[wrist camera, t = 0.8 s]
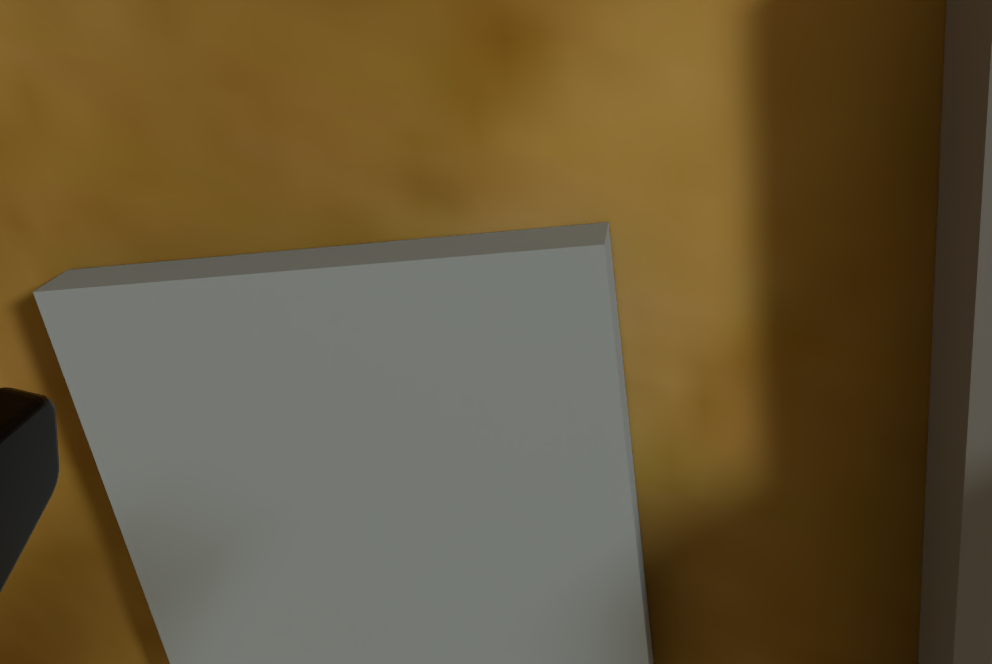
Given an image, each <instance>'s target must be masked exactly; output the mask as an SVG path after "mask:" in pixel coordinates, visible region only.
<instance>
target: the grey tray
mask: <svg viewBox="0 0 992 664" xmlns="http://www.w3.org/2000/svg"><path fill="white" fill-rule="evenodd" d="M918 664H992V0H946V21H945V45H944V68H943V91H942V115H941V138H940V161H939V184H938V208H937V231H936V254H935V278H934V301H933V324H932V347H931V371H930V394H929V417H928V441H927V464H926V487H925V510H924V534H923V557H922V580H921V604H920V627H919V650H918Z"/></svg>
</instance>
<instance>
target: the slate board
mask: <svg viewBox="0 0 992 664" xmlns="http://www.w3.org/2000/svg"><path fill="white" fill-rule="evenodd" d="M33 294H34V297H35V299H36V302H37V305H38V308H39V310H40V313H41V316H42V318H43V321H44V324H45V327H46V329H47V332H48V335H49V337H50V340H51V343H52V345H53V348H54V351H55V354H56V356H57V359H58V362H59V364H60V367H61V370H62V373H63V375H64V378H65V381H66V383H67V386H68V389H69V392H70V394H71V397H72V400H73V402H74V405H75V408H76V410H77V413H78V416H79V419H80V421H81V424H82V427H83V429H84V432H85V435H86V438H87V440H88V443H89V446H90V448H91V451H92V454H93V456H94V459H95V462H96V465H97V467H98V470H99V473H100V475H101V478H102V481H103V484H104V486H105V489H106V492H107V494H108V497H109V500H110V503H111V505H112V508H113V511H114V513H115V516H116V519H117V521H118V524H119V527H120V530H121V532H122V535H123V538H124V540H125V543H126V546H127V549H128V551H129V554H130V557H131V559H132V562H133V565H134V568H135V570H136V573H137V576H138V578H139V581H140V584H141V586H142V589H143V592H144V595H145V597H146V600H147V603H148V605H149V608H150V611H151V614H152V616H153V619H154V622H155V624H156V627H157V630H158V633H159V635H160V638H161V641H162V643H163V646H164V649H165V651H166V654H167V657H168V660H169V662H170V664H654V660H653V650H652V641H651V631H650V621H649V611H648V602H647V592H646V582H645V572H644V563H643V553H642V543H641V533H640V524H639V514H638V504H637V495H636V485H635V475H634V465H633V456H632V446H631V436H630V426H629V417H628V407H627V397H626V387H625V378H624V368H623V358H622V348H621V339H620V329H619V319H618V309H617V300H616V290H615V280H614V270H613V261H612V251H611V241H610V231H609V222H605V223H594V224H583V225H571V226H560V227H549V228H537V229H526V230H515V231H503V232H492V233H481V234H470V235H458V236H447V237H436V238H424V239H413V240H402V241H390V242H379V243H368V244H356V245H345V246H334V247H322V248H311V249H300V250H288V251H277V252H266V253H254V254H243V255H232V256H220V257H209V258H198V259H186V260H175V261H164V262H153V263H141V264H130V265H119V266H107V267H96V268H85V269H73V270H67V271H65V272H64V273H62V274H61V275H59V276H57V277H56V278H54V279H53V280H51V281H50V282H48V283H46V284H45V285H43V286H42V287H40V288H39V289H37V290H35V291H34V292H33Z"/></svg>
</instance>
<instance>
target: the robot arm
mask: <svg viewBox="0 0 992 664" xmlns="http://www.w3.org/2000/svg"><path fill="white" fill-rule="evenodd" d="M58 474H59V456H58V440H57V425H56V412H55V407H54V405H53V403H52V401H51V400H50V399H49V398H47V397H46V396H43V395H40V394H35V393H31V392H27V391H23V390H18V389H14V388H5V387H4V388H0V592H1V590H2V588H3V587H4V585H5V583H6V581H7V579H8V577H9V575H10V573H11V571H12V570H13V568H14V566H15V564H16V562H17V560H18V558H19V556H20V554H21V553H22V551H23V549H24V547H25V545H26V543H27V541H28V539H29V537H30V536H31V534H32V532H33V530H34V528H35V526H36V524H37V522H38V520H39V518H40V517H41V515H42V513H43V511H44V509H45V507H46V505H47V503H48V501H49V500H50V498H51V496H52V494H53V491H54V489H55V486H56V483H57V479H58Z"/></svg>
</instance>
